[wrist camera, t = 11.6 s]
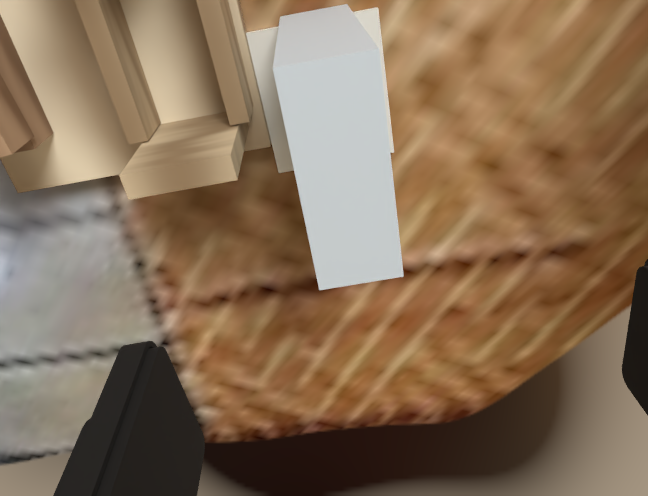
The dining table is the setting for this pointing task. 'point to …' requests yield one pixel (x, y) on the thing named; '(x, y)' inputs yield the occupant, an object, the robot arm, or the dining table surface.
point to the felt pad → (263, 58)
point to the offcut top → (11, 123)
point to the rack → (137, 92)
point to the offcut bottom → (22, 91)
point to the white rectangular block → (339, 145)
